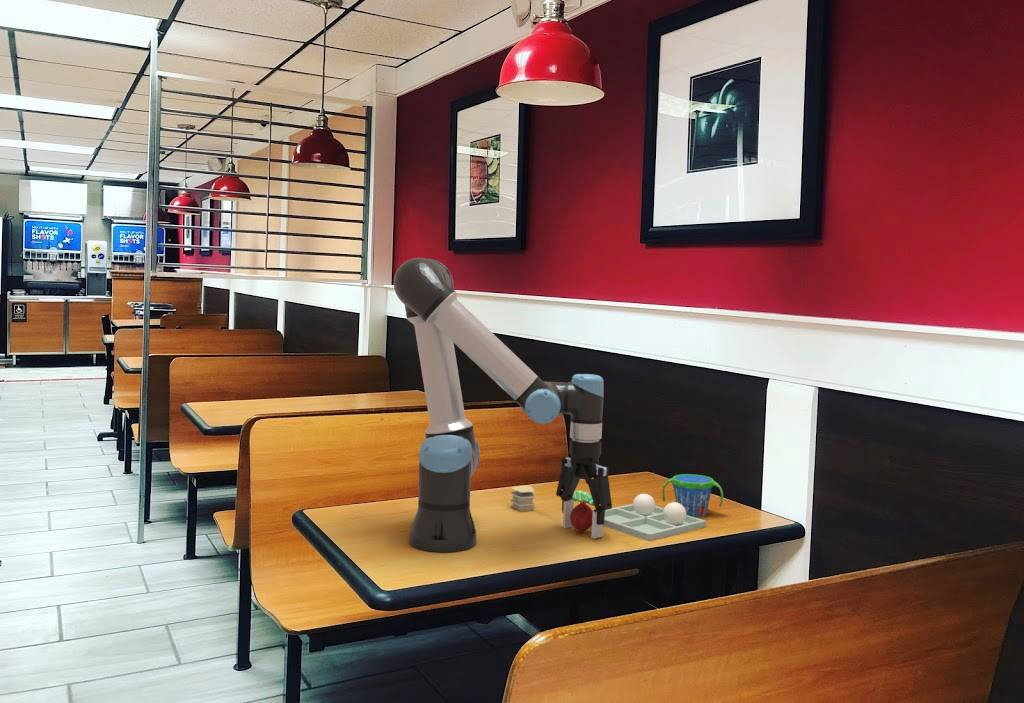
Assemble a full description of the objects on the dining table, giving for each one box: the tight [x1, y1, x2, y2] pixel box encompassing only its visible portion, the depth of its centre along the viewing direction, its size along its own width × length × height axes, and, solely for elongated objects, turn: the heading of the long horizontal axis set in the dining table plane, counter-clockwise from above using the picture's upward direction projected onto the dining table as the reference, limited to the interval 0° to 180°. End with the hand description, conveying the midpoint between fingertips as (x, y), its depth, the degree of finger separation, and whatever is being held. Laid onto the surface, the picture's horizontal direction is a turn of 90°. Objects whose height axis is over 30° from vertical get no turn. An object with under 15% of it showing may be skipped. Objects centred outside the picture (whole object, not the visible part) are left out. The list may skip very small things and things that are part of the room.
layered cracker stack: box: [510, 485, 535, 513], centre depth 222 cm, size 10×9×6 cm
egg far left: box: [632, 493, 656, 516], centre depth 215 cm, size 6×6×6 cm
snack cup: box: [661, 473, 724, 518], centre depth 219 cm, size 16×10×10 cm
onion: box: [570, 500, 594, 534], centre depth 201 cm, size 6×6×8 cm
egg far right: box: [663, 501, 686, 525], centre depth 207 cm, size 6×6×6 cm
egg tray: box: [602, 503, 707, 542], centre depth 208 cm, size 21×21×2 cm
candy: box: [570, 490, 594, 506], centre depth 229 cm, size 12×3×4 cm
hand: (582, 532), depth 201 cm, fingers open, 9 cm apart
